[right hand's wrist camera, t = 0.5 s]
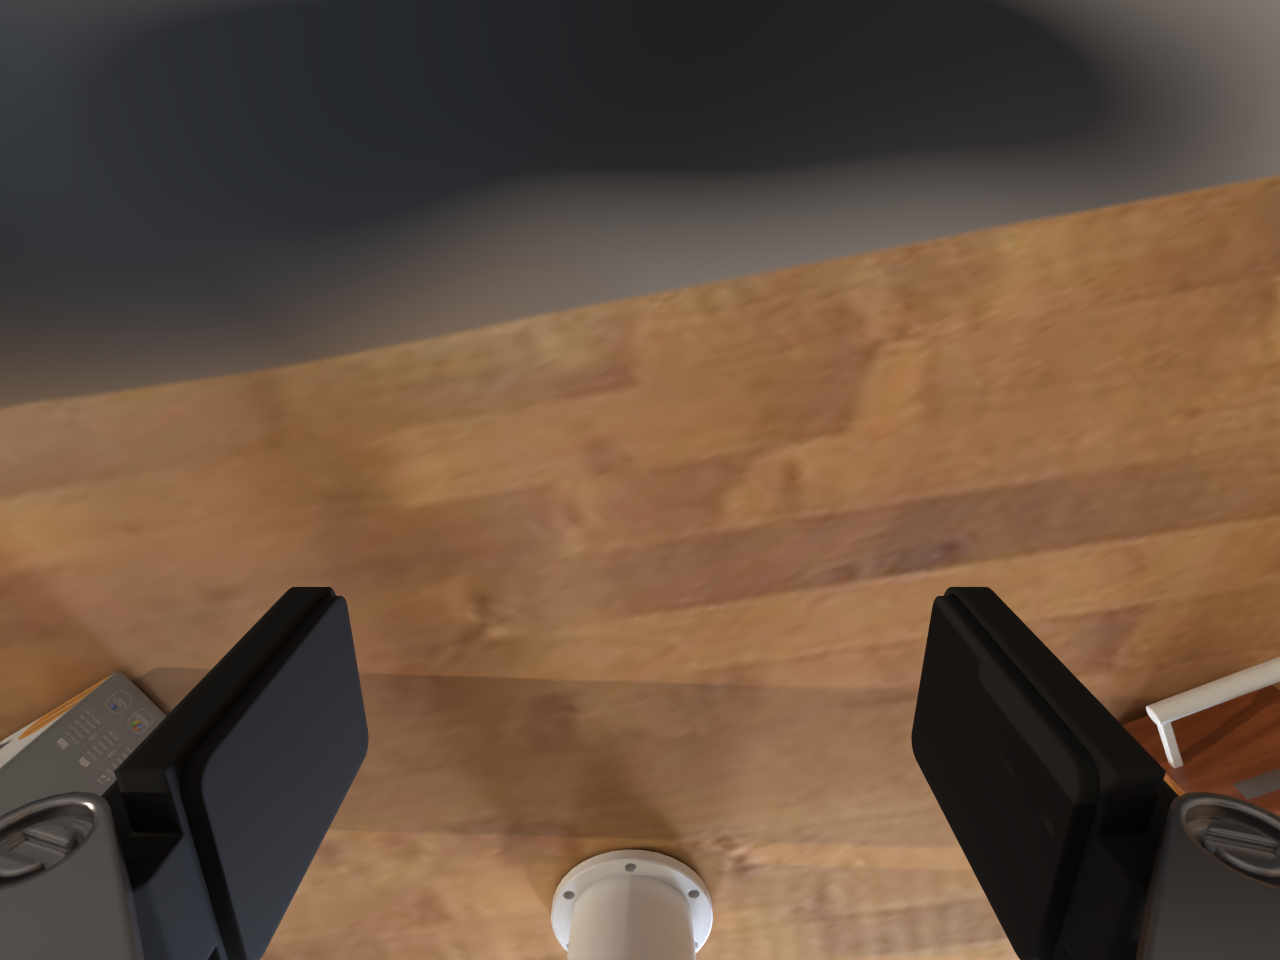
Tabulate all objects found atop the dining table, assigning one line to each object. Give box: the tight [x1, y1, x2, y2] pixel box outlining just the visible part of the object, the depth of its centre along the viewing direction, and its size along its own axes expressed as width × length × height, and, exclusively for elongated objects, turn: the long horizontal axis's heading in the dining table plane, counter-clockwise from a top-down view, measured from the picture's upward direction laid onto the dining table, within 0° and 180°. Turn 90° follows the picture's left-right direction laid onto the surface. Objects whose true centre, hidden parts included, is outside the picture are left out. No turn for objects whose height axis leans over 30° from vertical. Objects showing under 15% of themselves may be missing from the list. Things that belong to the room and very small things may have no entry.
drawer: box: [1122, 656, 1280, 816], centre depth 45 cm, size 20×9×9 cm, turn 27°
